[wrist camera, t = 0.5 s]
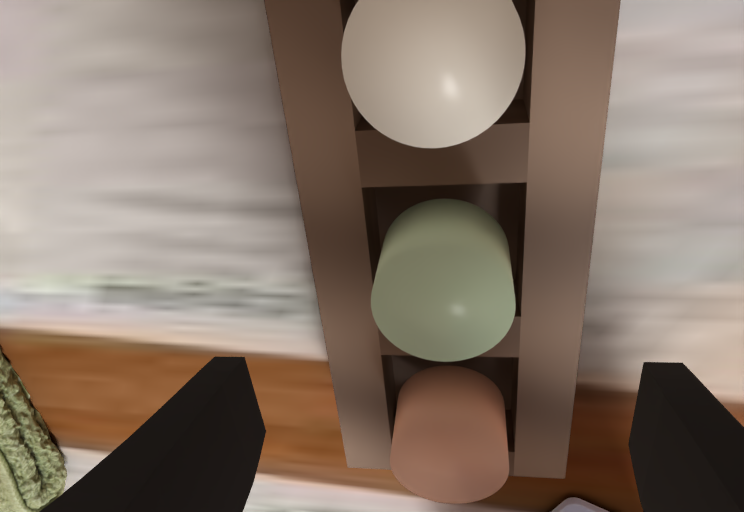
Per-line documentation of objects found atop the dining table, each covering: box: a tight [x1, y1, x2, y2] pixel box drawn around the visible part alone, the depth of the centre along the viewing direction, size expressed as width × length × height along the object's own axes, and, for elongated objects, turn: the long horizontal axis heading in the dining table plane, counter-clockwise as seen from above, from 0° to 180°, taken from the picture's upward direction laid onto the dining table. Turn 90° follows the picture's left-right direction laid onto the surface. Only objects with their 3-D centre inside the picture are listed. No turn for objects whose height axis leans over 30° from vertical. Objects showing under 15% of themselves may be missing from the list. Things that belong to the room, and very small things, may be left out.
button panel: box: [264, 0, 621, 479], centre depth 18 cm, size 19×8×3 cm, turn 6°
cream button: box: [341, 0, 525, 148], centre depth 12 cm, size 4×4×2 cm
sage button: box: [371, 199, 516, 362], centre depth 15 cm, size 4×4×2 cm
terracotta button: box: [390, 365, 509, 504], centre depth 19 cm, size 4×4×2 cm
